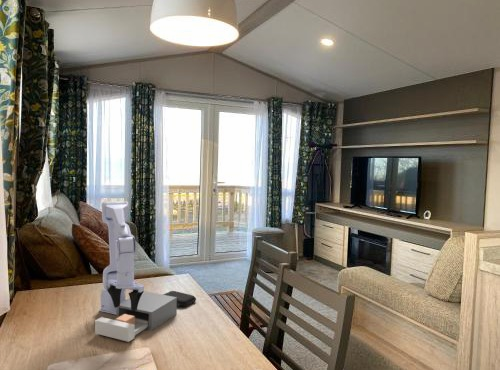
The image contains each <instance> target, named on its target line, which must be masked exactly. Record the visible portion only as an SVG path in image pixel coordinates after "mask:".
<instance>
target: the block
mask: <svg viewBox="0 0 500 370" xmlns="http://www.w3.org/2000/svg"><path fill="white" fill-rule="evenodd" d="M115 320H116V321H121V322H125V323H129V324H134V325H135V316H132V315H127V314H124V315H122V316H120V317H118V318H116V317H115Z"/></svg>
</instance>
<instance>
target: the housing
mask: <svg viewBox="0 0 500 370" xmlns="http://www.w3.org/2000/svg"><path fill="white" fill-rule="evenodd" d="M177 308H178V306H177V297H172V296H167V295H163V294H160V293H155V292H151V291H145V290H144V292H143V294H142V295H141V297H140V300H139V303H138V307H137V310H135V311H131V300H130V297H129V298H126V300H125V301H123V302H121V303H120V306H118V307H116V317H115V319H116V318H118V317H120V316H122V315H124V314H127V315H132V316H135V318H138V319H143V320H147V321H149V327H147V328H146V329H145V330H147V331H154V330H155V329H157V328H158V327H159V326H161V325H163V324H164V323H165V322H167V321H168V320H170V319H172V318H173V317H174V316H176V315H177V313H178V311H177V310H178V309H177Z"/></svg>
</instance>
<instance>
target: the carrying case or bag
mask: <svg viewBox="0 0 500 370" xmlns="http://www.w3.org/2000/svg"><path fill="white" fill-rule="evenodd" d="M162 295H167V296H172V297H177V308H178V307H179V308H186V307H187V306H188V307H189V306H190V305H192V304H193V303H195V302H196V301H197V297H195V295H193V294H188V293H184V292H180V291H177V290H171V291H168V292H165V293H164V294H162Z"/></svg>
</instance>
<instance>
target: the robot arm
mask: <svg viewBox="0 0 500 370" xmlns="http://www.w3.org/2000/svg"><path fill="white" fill-rule="evenodd" d="M129 211H130V207H129V203H128V201H127V200H124V201H123V200H121V201H120V200H119V201H118V200H117V201H103V202H102V203H101V220H102V223H104V224H106V226H107V228H108V245H109V246H108V247H109V248H108V249H109V250H108V251H109V265H107V266H106V267H105V268H103V272H102V286H103V287H102V290H101V292H100V308H99V310H98V311H99V312H102V313H108V314H112V315H116V307H118V306H120V303H121V302H123V301H125V300H127V290H129V292H128V297H129V298H130V300H131V311H135V310H137V307H138V303H139V300H140V297H141V295H142V294H143V292H144V291H145V285H144V284H140V283H138V282H136V281H135V253H136V251H137V241H136V237H135V236H134V235H133V234H132V233H131V232H132V231H131V229H130V225H129V224H127V222H126V220H127V219H128V216H129V213H130V212H129ZM130 290H131V291H130Z"/></svg>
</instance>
